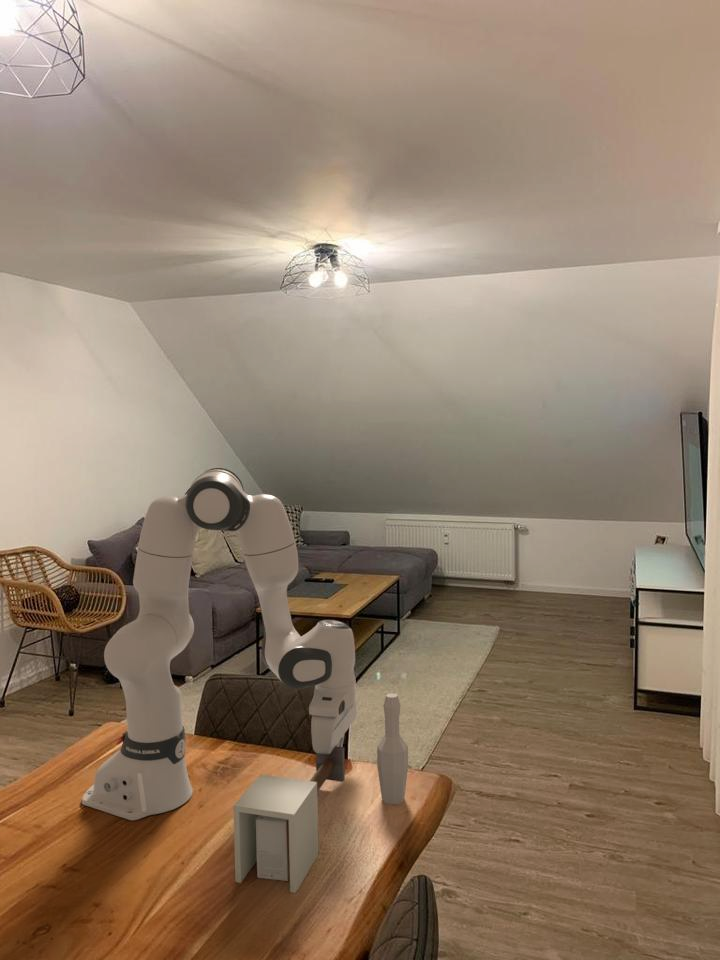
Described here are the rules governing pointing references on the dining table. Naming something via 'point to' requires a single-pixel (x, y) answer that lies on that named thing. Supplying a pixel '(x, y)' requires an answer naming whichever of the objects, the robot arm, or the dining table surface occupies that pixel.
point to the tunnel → (279, 802)
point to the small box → (272, 848)
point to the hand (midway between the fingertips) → (336, 755)
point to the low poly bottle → (392, 755)
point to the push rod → (329, 767)
